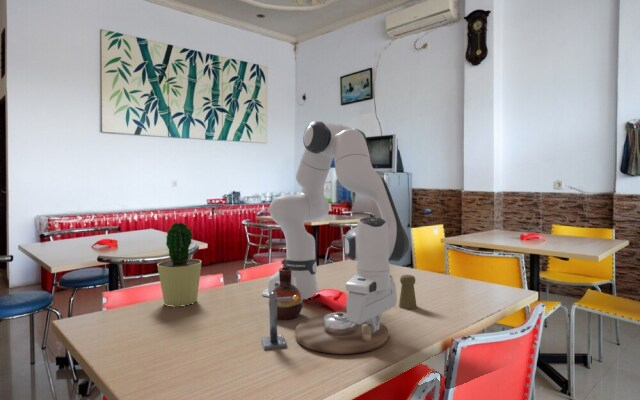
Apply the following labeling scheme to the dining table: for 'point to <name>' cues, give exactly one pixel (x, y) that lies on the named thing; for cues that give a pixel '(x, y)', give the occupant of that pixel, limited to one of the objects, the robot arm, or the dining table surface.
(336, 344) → the lazy susan
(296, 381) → the dining table surface
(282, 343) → the post
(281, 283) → the vase
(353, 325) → the aluminium cover
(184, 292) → the potted cactus
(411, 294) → the olive pawn
